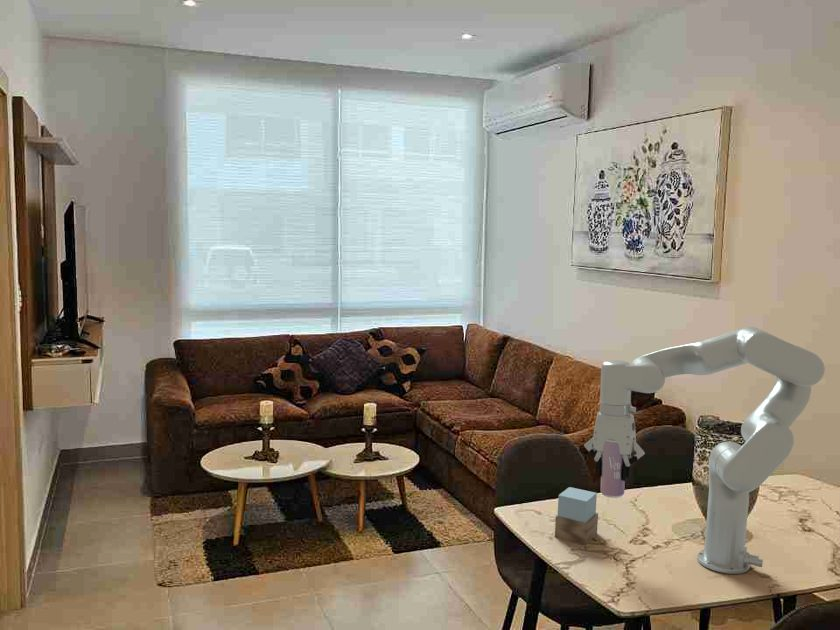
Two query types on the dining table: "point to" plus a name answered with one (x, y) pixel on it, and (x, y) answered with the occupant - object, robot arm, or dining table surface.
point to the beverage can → (612, 470)
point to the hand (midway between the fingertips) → (612, 476)
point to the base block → (576, 529)
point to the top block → (577, 504)
